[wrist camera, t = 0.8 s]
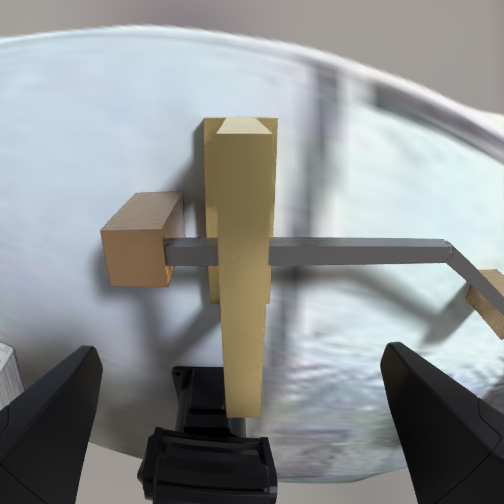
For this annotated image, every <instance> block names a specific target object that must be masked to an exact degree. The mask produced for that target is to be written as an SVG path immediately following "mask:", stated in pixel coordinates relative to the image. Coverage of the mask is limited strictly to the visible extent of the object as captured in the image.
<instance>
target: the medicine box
mask: <svg viewBox="0 0 504 504" xmlns="http://www.w3.org/2000/svg"><path fill="white" fill-rule="evenodd" d="M22 392H24V387H23V384H22V380H21V377H20V373H19V370H18V366H17V362H16V358H15V354H14V349H13V348H12V347H10V346H8V345H6V344H4V343H2V342H0V410H1V409H3V408H4V407H5V406H6V405H9V403H10V402H11V401H13V400H14V399H15V398H16V397H18V396H19V395H20V394H21V393H22Z"/></svg>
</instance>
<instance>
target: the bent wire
mask: <svg viewBox="0 0 504 504" xmlns="http://www.w3.org/2000/svg"><path fill="white" fill-rule="evenodd" d="M100 232H101V238H102V243H103V249H104V254H105V259H106V264H107V269H108V274H109V278H110V283H111V286H135V287H168V286H169V283H170V280H171V276H172V273H173V270H174V267H175V266H219V257H218V237H214V238H185V227H184V212H183V194H182V191H179V192H149V193H135V194H134V195H133V197H132V198H131V199H130V200H129V201H128V202H127V203H126V204H125V205H124V206H123V207H122V208H121V209H120V210H119V211H118V212H117V213H116V214H115V215H114V216H113V217H112V218H111V219H110V220H109V221H108V222H107V224H106V225H105V226H104V227H103V228H102V229H101V230H100ZM417 263H447V264H448V265H449V266H450V267H451V268H452V269H454V270H455V271H456V272H457V273H458V274H459V275H460V276H462V277H463V278H464V279H465V280H466V281H467V282H468V283H469V284H471V287H470V290H469V293H468V296H467V298H466V300H467V301H468V302H469V303H470V304H471V305H472V306H473V307H474V309H475V310H476V311H477V312H478V313H479V314H480V316H481V317H482V318H483V319H484V320H485V321H486V323H487V324H488V325H489V326H490V327H491V328H492V330H493V331H494V332H495V333H496V335H497V336H498V337H499V338H500V339H501V340H502V339H504V275H503V274H502V273H501V272H499V271H498V270H497V269H495V270H477V269H476V268H475V267H474V266H473V265H472V264H471V263H470V262H469V261H468V260H467V259H466V258H465V257H464V256H463V255H462V254H461V253H460V252H459V251H458V250H457V249H456V248H455V247H453V245H452V244H451V243H450V242H448V241H445V240H444V239H409V238H313V237H269V256H268V266H286V265H366V264H417Z"/></svg>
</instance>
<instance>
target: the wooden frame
mask: <svg viewBox="0 0 504 504" xmlns="http://www.w3.org/2000/svg"><path fill="white" fill-rule="evenodd" d="M277 126H278V118H276V117H205V118H204V176H205V210H206V235H207V238H214V237H218V257H219V266H208V276H209V293H210V304H220V309H221V329H222V348H223V366H224V382H225V397H226V412H227V418H248V417H260V401H261V386H262V369H263V352H264V335H265V316H266V304H269V302H270V284H271V266H268V256H269V237H273V226H274V204H275V180H276V155H277Z"/></svg>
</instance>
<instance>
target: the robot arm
mask: <svg viewBox="0 0 504 504" xmlns="http://www.w3.org/2000/svg"><path fill="white" fill-rule="evenodd" d="M380 368H381V373H382V377H383V381H384V386H385V390H386V395H387V400H388V404H389V408H390V411H391V415H392V418H393V421H394V424H395V427H396V430H397V433H398V436H399V439H400V442H401V446H402V449H403V452H404V455H405V459H406V462H407V466H408V469H409V472H410V476H411V480H412V483H413V487H414V490H415V494H416V497H417V502H418V504H504V414H503V413H501V412H499V411H498V410H496V409H495V408H493V407H492V406H490V405H489V404H487V403H486V402H485V401H483V400H482V399H480V398H479V397H478V398H477V396H476V395H475V394H473V393H472V392H471V391H469V390H468V389H466V388H465V387H463V386H462V385H461V384H459V383H458V382H456V381H455V380H454V379H452V378H451V377H449V376H448V375H447V374H445V373H444V372H442V371H441V370H439V369H438V368H437V367H435V366H434V365H432V364H431V363H430V362H428V361H427V360H425V359H424V358H422V357H421V356H420V355H418V354H417V353H415V352H414V351H413V350H411V349H410V348H408V347H407V346H405V345H404V344H403V343H401V342H391V343H388V344H387V345H386V348H385V351H384V353H383V356H382V359H381V363H380ZM102 372H103V367H102V363H101V360H100V358H99V355H98V352H97V350H96V348H95V347H94V346H86V345H83V346H81V347H80V348H78V349H77V350H76V351H74V352H73V353H72V354H71V355H69V356H68V357H67V358H65V359H64V360H63V361H62V362H60V363H59V364H58V365H57V366H55V367H54V368H53V369H51V370H50V371H49V372H48V373H46V374H45V375H44V376H43V377H41V378H40V379H39V380H38V381H36V382H35V383H34V384H32V385H31V386H30V387H29V388H27V389H26V390H25V391H24V392H22V393H21V394H20V395H19V396H18V397H16V398H15V399H14V400H13V401H11V402H10V403H9V405H6V406H5V407H4V408H3V409H1V410H0V504H75V501H76V496H77V490H78V486H79V480H80V476H81V471H82V466H83V462H84V457H85V453H86V449H87V445H88V441H89V437H90V433H91V429H92V425H93V421H94V418H95V413H96V408H97V402H98V396H99V390H100V384H101V378H102ZM172 375H173V379H174V384H175V388H176V392H177V396H178V401H179V406H178V413H177V421H176V428H175V431H173V430H166V429H163V428H161V427H156V428H155V432H154V435H153V434H152V435H151V436H150V437H149V438H148V444H147V449H146V453H145V456H144V459H143V461H142V463H141V466H140V468H139V471H138V474H137V478H138V480H139V481H140V482H141V484H142V485H143V490H144V494H145V499H146V500H151V501H153V504H275V503H276V498H277V474H276V469H275V465H274V461H273V457H272V453H271V449H270V445H269V440H268V437H261V438H246V425H245V418H227V412H226V397H225V382H224V367H179V366H177V367H174V368H173V371H172Z"/></svg>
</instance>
